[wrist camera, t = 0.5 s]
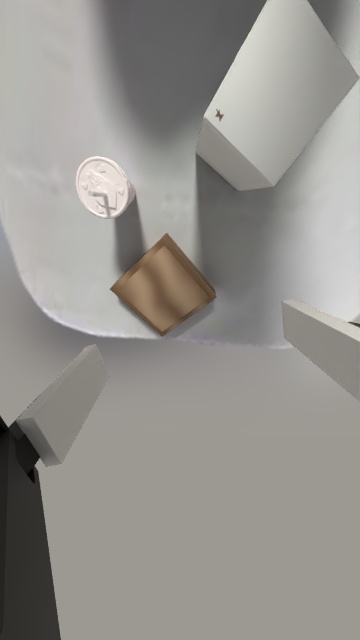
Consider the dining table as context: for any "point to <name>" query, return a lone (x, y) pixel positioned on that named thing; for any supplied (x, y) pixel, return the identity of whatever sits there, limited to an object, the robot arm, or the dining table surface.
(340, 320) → the robot arm
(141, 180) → the dining table surface
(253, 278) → the dining table surface
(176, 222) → the dining table surface
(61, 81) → the dining table surface
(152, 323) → the walnut tray
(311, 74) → the supplement box
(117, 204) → the smoothie
